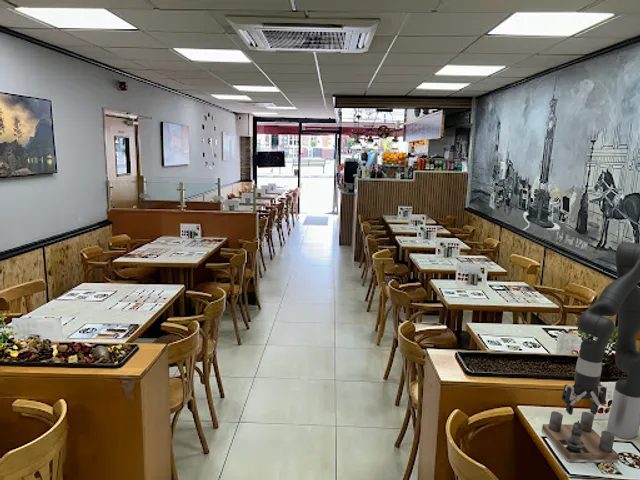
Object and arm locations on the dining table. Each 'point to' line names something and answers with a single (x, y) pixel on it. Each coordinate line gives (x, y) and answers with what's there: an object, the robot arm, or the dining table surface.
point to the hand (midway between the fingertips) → (581, 413)
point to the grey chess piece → (575, 439)
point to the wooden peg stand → (593, 443)
